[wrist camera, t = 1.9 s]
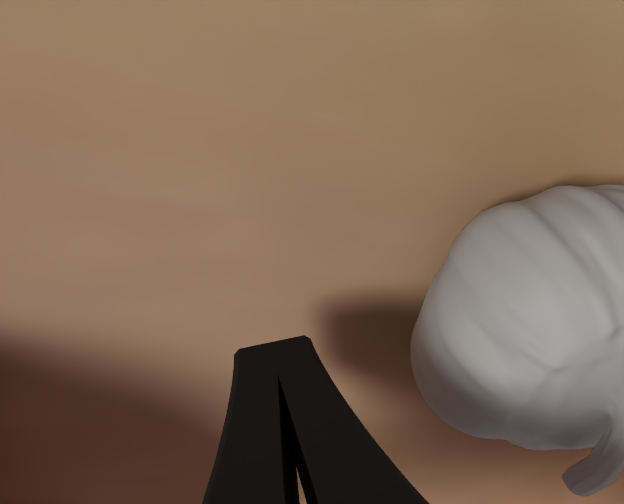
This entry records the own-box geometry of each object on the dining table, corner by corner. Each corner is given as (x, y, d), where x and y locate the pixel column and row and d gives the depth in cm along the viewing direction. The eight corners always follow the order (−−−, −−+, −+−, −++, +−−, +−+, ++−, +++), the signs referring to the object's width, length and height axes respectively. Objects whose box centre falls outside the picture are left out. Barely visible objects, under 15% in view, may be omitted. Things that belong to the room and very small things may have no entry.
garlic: (457, 377, 15) (563, 573, 11) (336, 273, 12) (416, 485, 8) (655, 241, 14) (867, 408, 9) (569, 85, 11) (819, 226, 6)
